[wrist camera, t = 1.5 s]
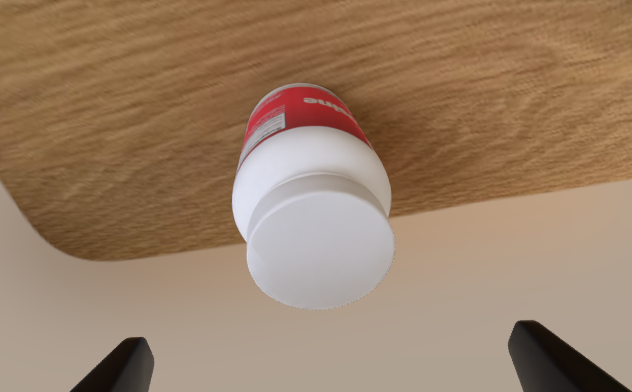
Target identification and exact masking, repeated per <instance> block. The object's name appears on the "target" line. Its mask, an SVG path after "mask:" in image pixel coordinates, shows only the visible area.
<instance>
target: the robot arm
mask: <svg viewBox="0 0 632 392" xmlns="http://www.w3.org/2000/svg"><path fill="white" fill-rule="evenodd" d="M508 349H509V353H510V356H511V358H512V361H513V364H514V366H515V369H516V372H517V375H518V378H519V380H520V383H521V386H522V388H523V391H524V392H632V391H630V390H629V389H628V388H627V387H625V386H624V385H623V384H621V383H620V382H618V381H617V380H615V379H614V378H613V377H612V376H610V375H609V374H608V373H606V372H605V371H603V370H602V369H601V368H599V367H598V366H597V365H595V364H594V363H593V362H591V361H590V360H589V359H587V358H586V357H585V356H583V355H582V354H581V353H579V352H578V351H577V350H575V349H574V348H573V347H571V346H570V345H569V344H567V343H566V342H564V341H563V340H562V339H560V338H559V337H558V336H556V335H555V334H554V333H552V332H551V331H550V330H548V329H547V328H546V327H544V326H543V325H541V324H540V323H539V322H537V321H534V320H520V321H517V322H516V324H515V326H514V328H513V331H512V333H511V336H510V338H509V342H508ZM153 368H154V357H153V355H152V352H151V350H150V348H149V345H148V343H147V341H146V339H145V338H144V337H130V338H127V339H125V340H123V341H122V342H121V343H120V344H119V345H118V346H117V347H116V348H115V349H114V350H113V351H112V352H111V353H110V354H109V355H107V357H105V358H104V359H103V360H102V361H101V362H100V363H99V364H98V365H97V366H96V367H95V368H94V369H93V370H92V371H91V372H90V373H89V374H88V375H87V376H86V377H84V378H83V380H81V381H80V382H79V383H78V384H77V385H76V386H75V387H74V388H73V389H72V390H71V391H70V392H148V390H149V386H150V381H151V377H152V373H153Z"/></svg>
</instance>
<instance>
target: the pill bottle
mask: <svg viewBox="0 0 632 392" xmlns="http://www.w3.org/2000/svg"><path fill="white" fill-rule="evenodd" d="M390 207H391V187H390V183H389V179H388V176H387V173H386V171H385V169H384V166H383V164H382V162H381V161H380V159H379V157H378V156H377V154H376V152H375V151H374V149H373V147H372V146H371V144H370V142H369V141H368V139H367V138H366V136H365V134H364V133H363V131H362V130H361V128H360V127H359V125H358V123H357V122H356V120H355V118H354V117H353V115H352V114H351V112H350V111H349V109H348V108H347V106H346V105H345V104H344V103H343V101H342V100H341V99H340V98H339V97H338V96H336V95H335V94H334V93H332V92H331V91H329V90H328V89H326V88H324V87H321V86H318V85H315V84H310V83H293V84H288V85H284V86H282V87H279V88H277V89H275V90H273V91H272V92H270V93H269V94H267V95H266V96H265V97H264V98H263V99H262V100H261V101H260V102H259V103H258V104H257V106H256V107H255V109H254V110H253V112H252V114H251V117H250V119H249V122H248V126H247V129H246V134H245V138H244V143H243V147H242V152H241V156H240V160H239V165H238V169H237V173H236V177H235V181H234V186H233V195H232V208H233V214H234V219H235V222H236V225H237V227H238V229H239V231H240V233H241V235H242V236H243V238H244V239H245V241H246V242H247V263H248V267H249V270H250V273H251V275H252V277H253V279H254V281H255V282H256V284H257V285H258V286H259V287H260V289H261V290H262V291H264V293H266V294H267V295H268V296H270V297H271V298H273V299H275V300H277V301H279V302H281V303H283V304H285V305H288V306H292V307H296V308H302V309H311V310H321V309H331V308H336V307H340V306H343V305H346V304H349V303H352V302H354V301H356V300H358V299H360V298H362V297H364V296H365V295H367V294H368V293H369V292H371V291H372V290H373V289H374V288H375V287H377V285H379V283H380V282H381V281H382V280H383V278H384V277H385V276H386V275H387V273H388V271H389V269H390V267H391V264H392V262H393V259H394V253H395V239H394V233H393V230H392V227H391V225H390V222H389V220H388V216H389V212H390Z"/></svg>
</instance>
